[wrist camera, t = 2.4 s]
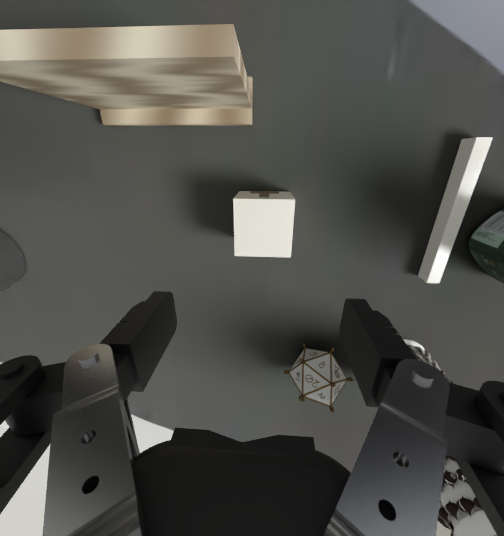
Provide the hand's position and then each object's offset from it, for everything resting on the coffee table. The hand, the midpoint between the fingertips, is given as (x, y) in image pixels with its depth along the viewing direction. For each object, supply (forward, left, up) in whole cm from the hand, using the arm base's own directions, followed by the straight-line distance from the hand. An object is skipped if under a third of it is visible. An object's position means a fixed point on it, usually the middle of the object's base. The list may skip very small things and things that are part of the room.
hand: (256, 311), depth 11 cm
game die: (-14, -19, -21) cm, 32 cm away
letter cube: (0, 0, -21) cm, 21 cm away
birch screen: (+5, +14, -21) cm, 25 cm away
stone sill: (+12, -18, -21) cm, 30 cm away
